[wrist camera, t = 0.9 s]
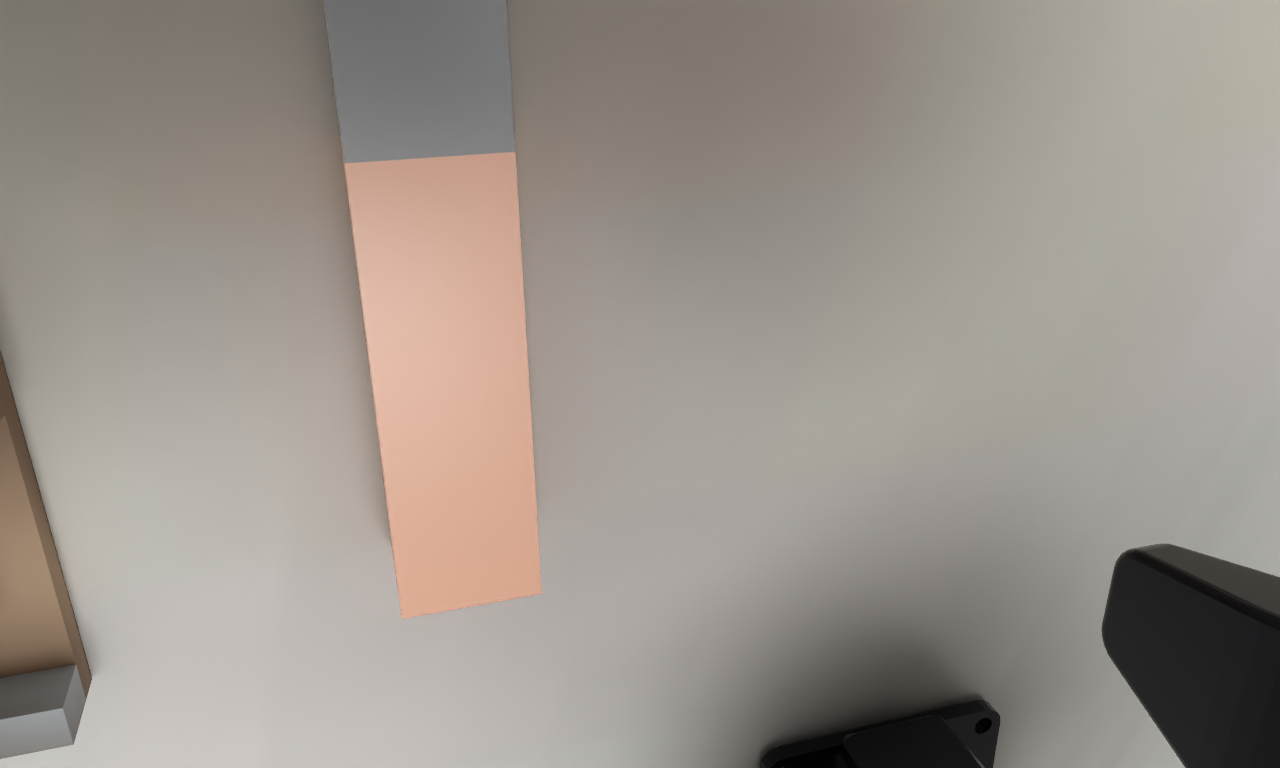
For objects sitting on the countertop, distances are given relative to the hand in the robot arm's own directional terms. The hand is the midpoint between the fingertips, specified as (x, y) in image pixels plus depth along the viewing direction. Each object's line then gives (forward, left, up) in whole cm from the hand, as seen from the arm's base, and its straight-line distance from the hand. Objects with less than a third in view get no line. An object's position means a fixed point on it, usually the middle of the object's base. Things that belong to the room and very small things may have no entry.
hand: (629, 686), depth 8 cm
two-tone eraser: (0, 0, -12) cm, 12 cm away
